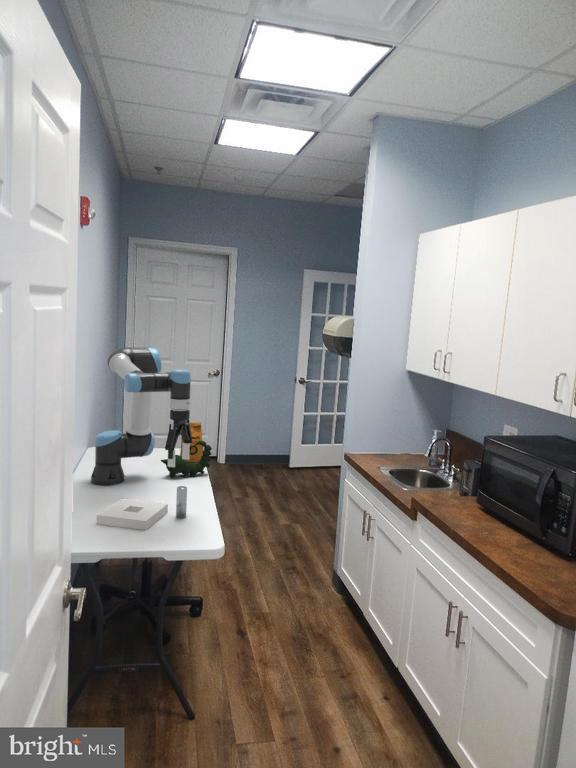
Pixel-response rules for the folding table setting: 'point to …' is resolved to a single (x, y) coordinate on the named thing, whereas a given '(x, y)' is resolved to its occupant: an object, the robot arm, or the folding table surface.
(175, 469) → the toy figurine
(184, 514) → the steel pin
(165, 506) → the socket block
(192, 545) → the folding table surface
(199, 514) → the folding table surface
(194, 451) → the coffee package
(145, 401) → the robot arm
